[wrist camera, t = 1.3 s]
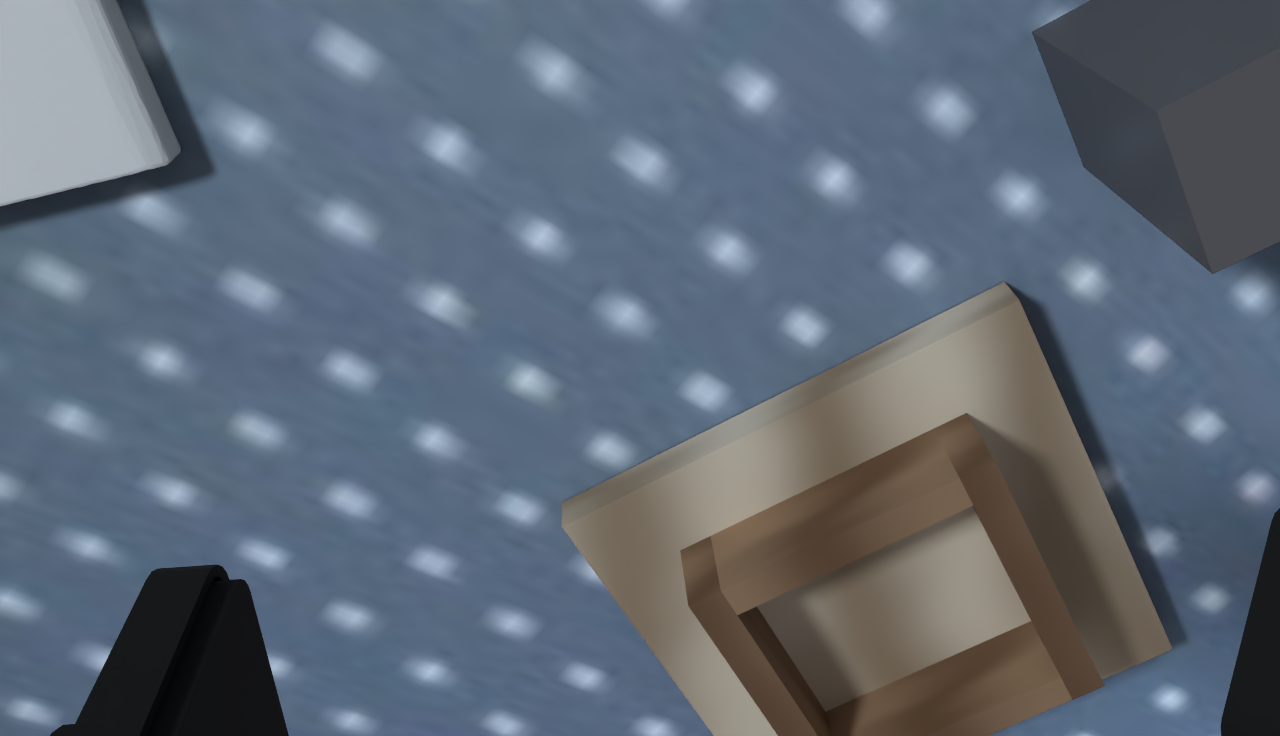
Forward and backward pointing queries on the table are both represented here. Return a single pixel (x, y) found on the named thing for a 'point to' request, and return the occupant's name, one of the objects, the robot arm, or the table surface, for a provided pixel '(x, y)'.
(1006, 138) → the table surface
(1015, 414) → the end holder
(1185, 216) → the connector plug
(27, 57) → the external hard drive
